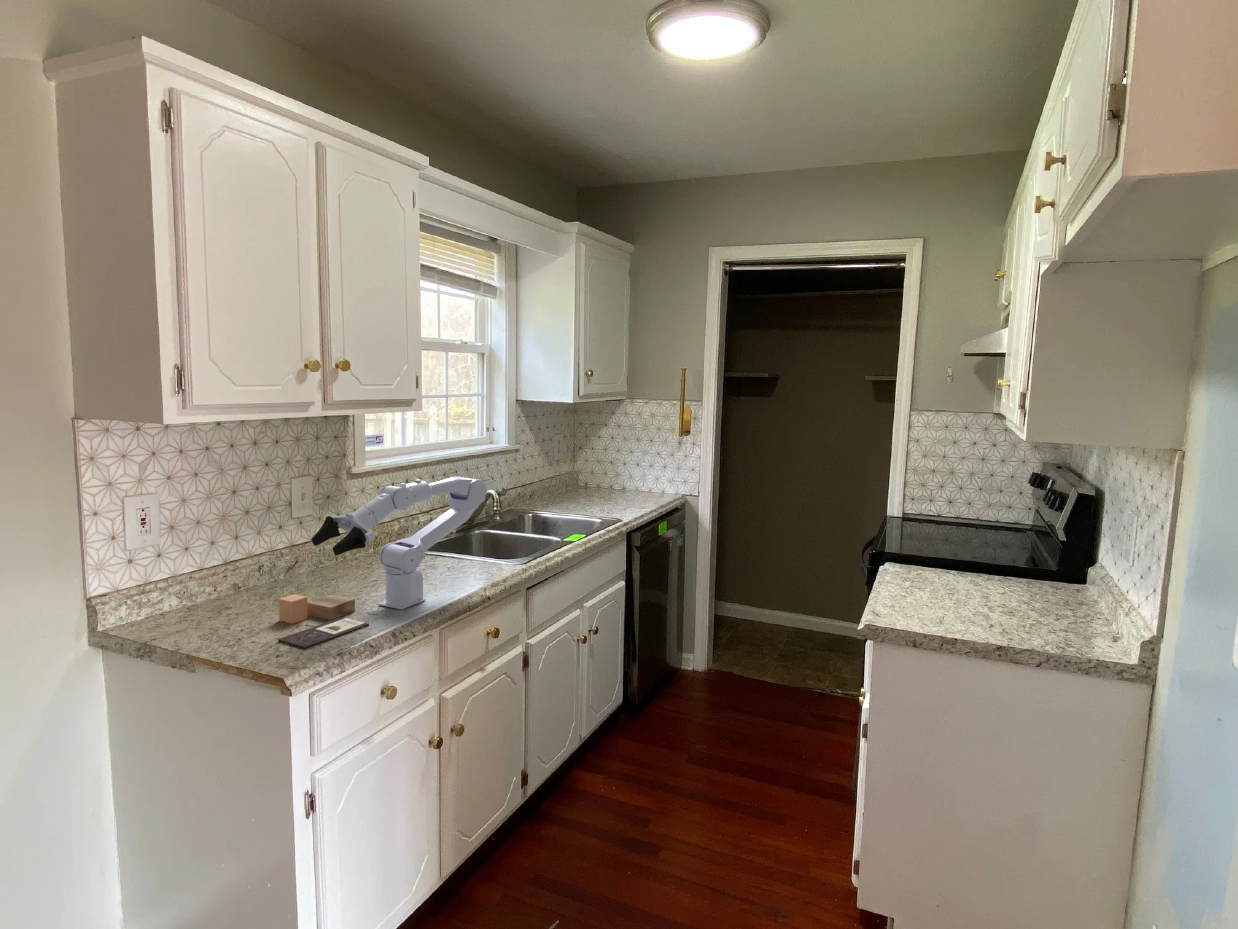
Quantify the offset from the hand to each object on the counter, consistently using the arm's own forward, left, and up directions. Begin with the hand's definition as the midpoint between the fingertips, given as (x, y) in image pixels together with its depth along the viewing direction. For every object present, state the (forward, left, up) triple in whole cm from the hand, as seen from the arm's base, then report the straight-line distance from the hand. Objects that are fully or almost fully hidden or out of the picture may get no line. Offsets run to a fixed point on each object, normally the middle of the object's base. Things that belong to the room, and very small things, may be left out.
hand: (323, 547), depth 173 cm
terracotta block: (0, -10, -19) cm, 22 cm away
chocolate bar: (+4, +4, -20) cm, 21 cm away
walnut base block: (-8, -6, -20) cm, 22 cm away
